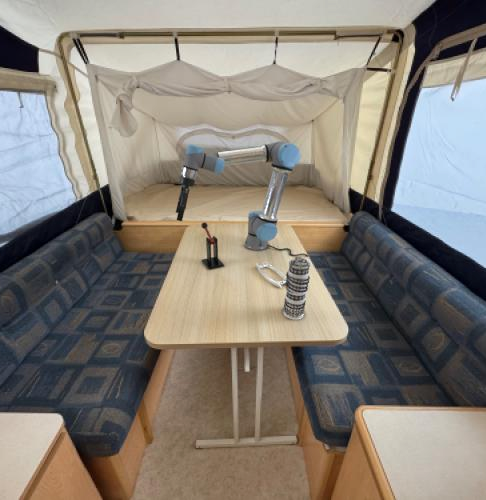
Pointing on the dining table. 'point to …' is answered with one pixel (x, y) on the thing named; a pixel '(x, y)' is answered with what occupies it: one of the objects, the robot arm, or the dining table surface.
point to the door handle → (269, 277)
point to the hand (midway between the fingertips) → (178, 216)
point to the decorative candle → (296, 288)
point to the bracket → (213, 261)
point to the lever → (204, 226)
